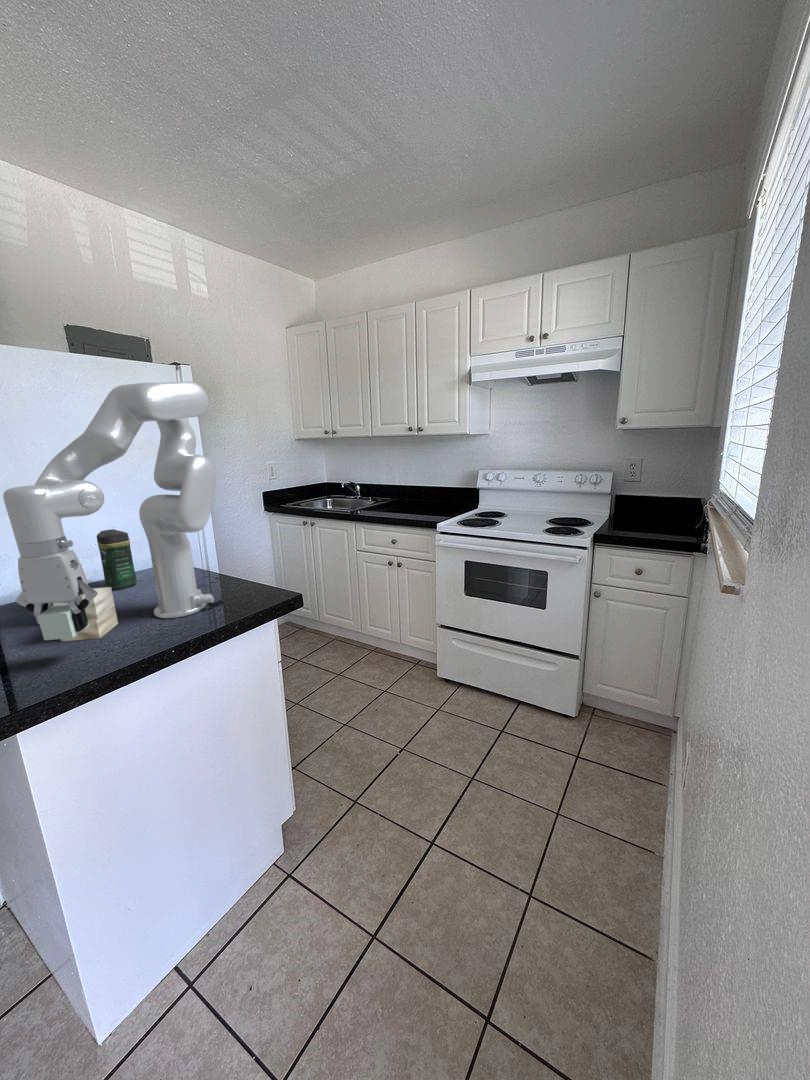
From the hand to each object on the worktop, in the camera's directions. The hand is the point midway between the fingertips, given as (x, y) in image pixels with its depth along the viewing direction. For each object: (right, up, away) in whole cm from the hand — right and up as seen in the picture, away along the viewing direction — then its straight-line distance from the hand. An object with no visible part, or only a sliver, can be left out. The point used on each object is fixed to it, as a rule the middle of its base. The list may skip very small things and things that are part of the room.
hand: (66, 629), depth 90 cm
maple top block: (-6, +1, +14) cm, 15 cm away
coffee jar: (-21, +4, +50) cm, 54 cm away
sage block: (0, -1, 0) cm, 1 cm away
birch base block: (-6, -4, +15) cm, 16 cm away
